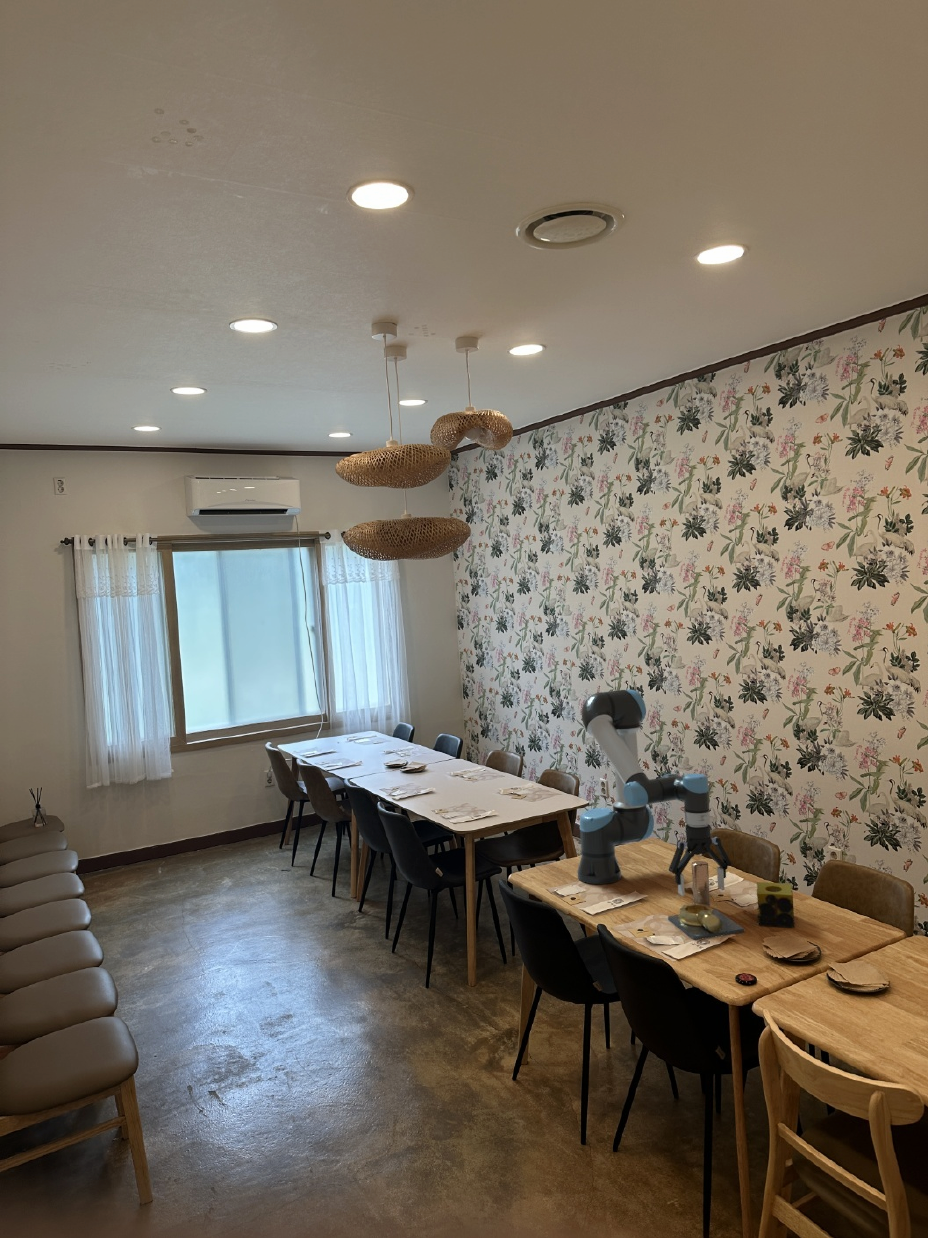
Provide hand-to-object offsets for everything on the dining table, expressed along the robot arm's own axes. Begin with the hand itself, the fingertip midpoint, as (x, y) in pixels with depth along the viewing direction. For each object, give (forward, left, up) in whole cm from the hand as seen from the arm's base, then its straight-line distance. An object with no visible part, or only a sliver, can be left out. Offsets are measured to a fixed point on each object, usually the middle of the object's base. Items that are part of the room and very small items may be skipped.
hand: (701, 891), depth 264 cm
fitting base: (+13, -6, -5) cm, 15 cm away
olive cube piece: (+17, +15, -5) cm, 23 cm away
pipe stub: (0, 0, -5) cm, 5 cm away
